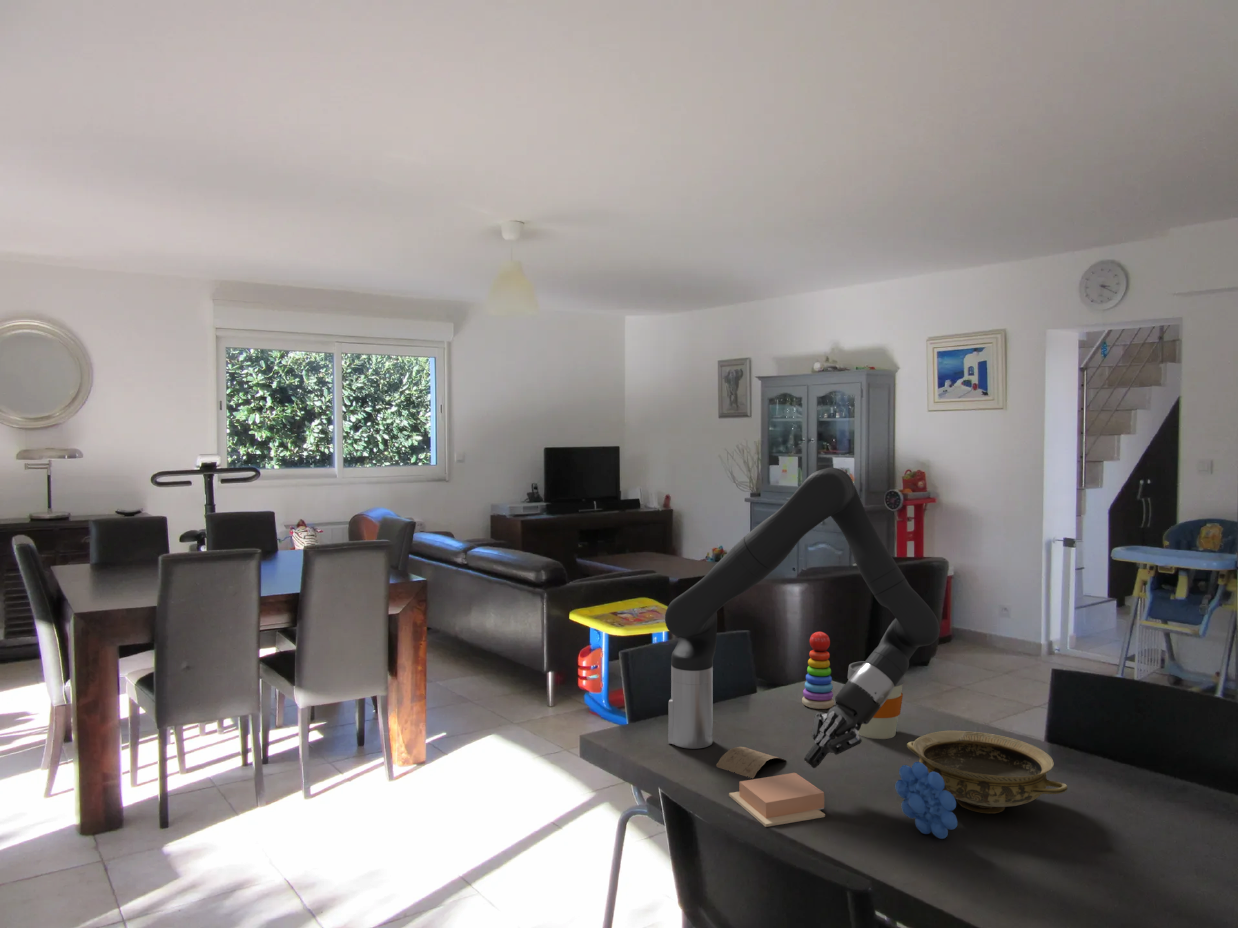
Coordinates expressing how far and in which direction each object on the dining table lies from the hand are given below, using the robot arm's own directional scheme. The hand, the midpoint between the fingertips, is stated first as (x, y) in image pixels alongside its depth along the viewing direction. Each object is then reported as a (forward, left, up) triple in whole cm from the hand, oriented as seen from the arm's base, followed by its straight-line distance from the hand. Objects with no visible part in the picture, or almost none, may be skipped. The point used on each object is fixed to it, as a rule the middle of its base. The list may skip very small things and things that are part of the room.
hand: (809, 764), depth 160 cm
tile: (0, 0, -5) cm, 5 cm away
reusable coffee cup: (+9, +43, -7) cm, 45 cm away
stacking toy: (-6, +59, -7) cm, 60 cm away
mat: (-5, -5, -7) cm, 10 cm away
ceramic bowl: (+30, +9, -7) cm, 32 cm away
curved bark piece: (-14, +14, -8) cm, 21 cm away
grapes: (+20, -8, -7) cm, 23 cm away
